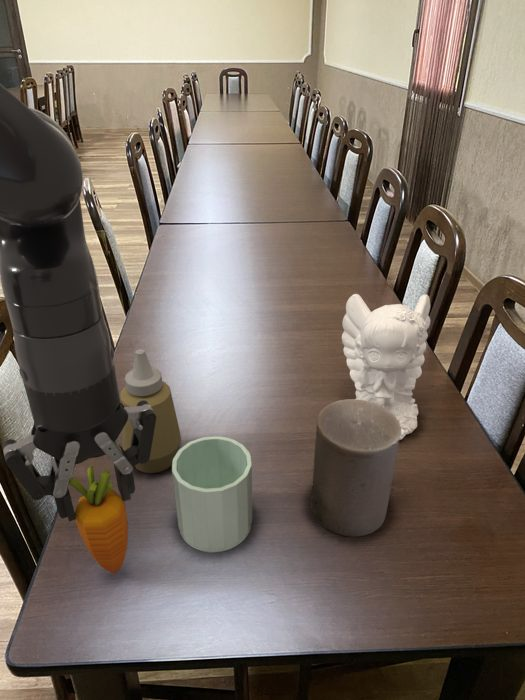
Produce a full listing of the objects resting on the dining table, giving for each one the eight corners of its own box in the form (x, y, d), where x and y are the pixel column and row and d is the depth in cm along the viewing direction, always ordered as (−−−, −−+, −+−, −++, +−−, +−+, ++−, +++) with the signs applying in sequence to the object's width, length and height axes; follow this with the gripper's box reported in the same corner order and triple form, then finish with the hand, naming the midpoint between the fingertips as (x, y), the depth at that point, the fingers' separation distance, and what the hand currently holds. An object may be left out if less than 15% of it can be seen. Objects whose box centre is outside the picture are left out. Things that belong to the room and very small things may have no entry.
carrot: (83, 582, 59) (52, 484, 51) (110, 547, 63) (85, 450, 55) (121, 597, 57) (96, 499, 49) (146, 560, 61) (127, 463, 53)
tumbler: (196, 564, 61) (190, 503, 56) (168, 511, 68) (160, 451, 63) (264, 533, 65) (265, 473, 60) (232, 485, 72) (229, 427, 67)
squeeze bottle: (179, 480, 73) (168, 369, 63) (119, 480, 73) (99, 369, 63) (186, 440, 80) (176, 335, 70) (131, 440, 80) (114, 335, 70)
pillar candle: (298, 519, 67) (303, 426, 59) (327, 470, 74) (335, 381, 67) (374, 549, 63) (390, 453, 55) (396, 494, 71) (413, 403, 63)
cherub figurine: (331, 436, 81) (341, 318, 70) (336, 388, 91) (346, 280, 81) (421, 447, 79) (445, 327, 68) (415, 397, 89) (436, 286, 79)
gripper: (136, 326, 52) (153, 459, 61) (-28, 364, 46) (17, 505, 55) (163, 363, 46) (177, 504, 55) (-20, 412, 40) (29, 561, 49)
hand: (97, 504), depth 55 cm, fingers closed on carrot, 5 cm apart
